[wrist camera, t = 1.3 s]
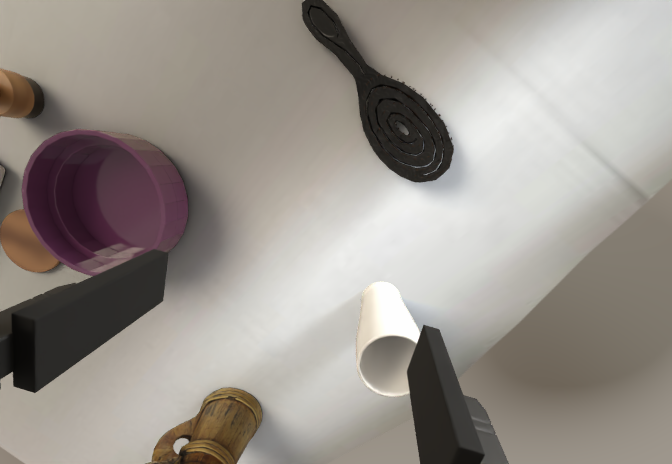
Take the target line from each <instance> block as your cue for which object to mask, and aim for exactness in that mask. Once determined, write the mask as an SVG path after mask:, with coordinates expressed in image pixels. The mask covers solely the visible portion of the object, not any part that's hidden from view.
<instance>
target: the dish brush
mask: <svg viewBox="0 0 672 464" xmlns="http://www.w3.org/2000/svg"><path fill="white" fill-rule="evenodd" d="M43 107H44V95H43V92H42V90H41V88H40V87H39V86H38V84H37V83H36V82H35V81H33V80H32V79H30V78H28V77H24V76H21V75H19V74H18V73H15V72H12V71H8V70H4V69H0V116H3V117H11V118H22V117H23V118H33V117H36V116H38V115H39V114H40V113H41V112H42V110H43Z"/></svg>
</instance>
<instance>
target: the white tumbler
mask: <svg viewBox="0 0 672 464" xmlns="http://www.w3.org/2000/svg"><path fill="white" fill-rule="evenodd" d="M420 334H421V333H420V331H419V329H418V327H417V325H416V323H415V321H414V320H413V318H412V316H411V314H410V313H409V311H408V309H407V307H406V306H405V304H404V302H403V300H402V298H401V295H400V293H399V291H398V290H397V288H396V287H394V286H393V285H392V284H390V283H387V282H375V283H373V284H371V285H369V286H368V287H367V288H366V289H365V290H364V292H363V294H362V297H361V310H360V317H359V323H358V329H357V336H356V362H357V371H358V374H359V377H360V379H361V381H362V382H363V383H364V385H365V386H366V387H367V388H369V389H370V390H371V391H373V392H375V393H377V394H379V395H382V396H386V397H401V396H405V395H408V394H410V391H409V385H408V378H407V369H408V366H409V364H410V361H411V358H412V355H413V353H414V350H415V347H416V345H417V342H418V339H419V336H420Z"/></svg>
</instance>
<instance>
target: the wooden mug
mask: <svg viewBox="0 0 672 464" xmlns="http://www.w3.org/2000/svg"><path fill="white" fill-rule="evenodd" d="M261 421H262V411H261V407H260V405H259V403H258V402H257V400H256V399H255V398H254V397H253V396H252V395H250V394H248V393H247V392H245V391H242V390H239V389H235V388H221V389H219V390H217V391H215V392H213V393H212V394H210V395H209V396H208V397H207V398H206V399H205V400H204V401H203V404H202V406H201V409H200V412H199V413H198V414H197V415H196V417H194V418H192V419H190V420H189V421H186V422H184V423H182V424H180V425H178V426H176V427H175V428H173V429H171V430H169V431H168V432H167V433H166V434H164V435H163V436H162V437H161V438H160V440H159V441H158V443H157V445H156V446H155V448H154V452H153V456H152V462H149V463H146V464H237V462H238V460H239V458H240V456H241V455H242V453H243V451H244V449H245V448H246V446H247V444H248V442H249V441H250V439H251V438H252V437H253V436H254V434H255V433H256V431H257V429H258V428H259V426H260V423H261ZM179 438H186V439H188V440H189V441H190V442H189V443H188V444H186V445H185V446H183V447H182V448H181V450H180V452H179V455H178V454H176V453H175V451H174V450H173V444H174V443H175V441H176V440H177V439H179Z"/></svg>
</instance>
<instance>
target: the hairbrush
mask: <svg viewBox="0 0 672 464" xmlns="http://www.w3.org/2000/svg"><path fill="white" fill-rule="evenodd" d="M302 12H303V15H302V16H303V20H304V23H305V25H306V26H307V28H308V29H309V31H310V32H311V33H312V35H313V36H314V37H315V38H316V39H317V40H318V41H319V42H320V43H322V44H323V45H324V46H325V47H326V48H328V49H329V50H330V51H331V52H333V53H334V54H335V55H336V56H337V57H338V58H339V60H340V61H341V62H342V63H343V64H344V65H345V67H346V68H347V69H348V70H349V71H350V73H351V74H352V75H353V77H354V78H355V81H356V85H357V91H358V97H359V108H360V117H361V121H362V126H363V130H364V132H365V135H366V137H367V139H368V141H369V143H370V145H371V146H372V148H373V150H374V152H375V153H376V155H377V156H378V157H379V158H380V159H381V160H382V161H383V162H384V163H385V164H386V165H387V167H388V168H389V169H391V170H392V171H394V172H395V173H397V174H398V175H400V176H402V177H404V178H406V179H408V180H411V181H413V182H426V181H433V180H436V179H438V178H439V177H440V176H441V175H443V174H444V173H445V172H446V171H447V170H448V169H449V167H450V163H451V161H452V155H453V150H454V148H453V146H454V145H453V146H452V143H451V140H452V139H451V138H452V137H451V138H450V137H449V135H448V134H449V132H447V129H446V127H447V126H445V124H444V122H443V120H441V119H440V117H439V116H441V115H440V114H439V115H437V114H436V112H435V111H434V110H436V108H435V109H434V110H433V109H432V108H431V107H432V106H433V105H432V106H430V105H431V104H430V105H429V104H428V103H427V101H426V99H424V98H423V97H422V96H421V95H422V94H421V95H419V94H418V93H416V92H415V91H416V90H415V91H413V90H414V88H413V90H412V89H411V88H409V87H410V86H409V87H408V86H406V85H405V84H404V83H405V82H404V83H401V82H399V81H396V80H393V79H391V78H392V76H391V78H388V77H386V76H385V75H384V76H383V75H381V74H380V73H378V72H377V71H375V70H374V69H373V68H371V67H370V66H368V65H367V64H366V63H365V61H364V60H363V58H362V57H361V55H360V54H359V52H358V51H357V49H356V48H355V46H354V45H353V43H352V42H351V40H350V39H349V37H348V35H347V33H346V31H345V29H344V27H343V25H342V23H341V21H340V19H339V17H338V15H337V14H336V13H335V12H334V11H333V10H332V9H331V8H330V7H329V6H328V5H327V4H326V3H325V2H324V1H323V0H305V1H304V2H303V3H302ZM309 15H310V17H311V20H312V23H313V24H314V26H315V27H316V29H317V30H316V29H315V28H314V27H313V26H312V24H311V20H310V17H309ZM332 21H333V22H334V23H335V25H336V27H337V30H338V32H339V35H338V33H337V30H336V27H335V25H334V23H333V22H332ZM324 37H325V38H324ZM327 39H328V40H327ZM330 41H331V42H330ZM333 43H334V44H333ZM336 45H337V46H336ZM339 47H340V48H339ZM342 49H343V50H342ZM345 51H346V52H347V53H348V54H349V55H350V56H351V57H352V58H353V59H354V60H355V61H356V62H357V63H358V64H359V65H360V67H361V69H362V70H363V72H364V74H363V72H362V71H361V69H360V67H359V66H358V64H357V63H356V62H355V61H354V60H353V59H352V58H351V57H350V56H349V55H348V54H347V53H346V52H345ZM397 80H399V79H397ZM382 86H387V87H382ZM374 88H376V89H375V90H374V91H373V92H371V91H372V89H374ZM392 88H393V89H392ZM395 89H396V90H395ZM397 90H398V91H397ZM399 91H401V92H402V93H401V92H399ZM403 93H404V94H403ZM369 95H370V96H369ZM407 96H408V97H407ZM368 97H369V101H368V115H369V120H370V123H371V126H372V128H373V130H374V132H375V135H376V136H377V139H378V140H379V142H380V143H381V144H382V146H383V147H384V148H385V149H386V150H387V152H388V153H389V154H390V155H392V156H393V157H394V158H396V159H397V160H399V161H401V162H403V163H405V164H408V165H412V166H421V168H414V167H411V166H408V165H405V164H403V163H400V162H398V161H396V160H395V159H393V158H392V157H391V156H390V155H389V154H388V153H387V152H386V151H385V150H384V149H383V148H382V146H381V145H380V144H379V142H378V141H377V139H376V137H375V136H374V134H373V132H372V130H371V127H370V124H369V121H368V118H367V112H366V102H367V99H368ZM386 99H390V100H386ZM411 99H412V100H413V101H412V100H411ZM382 100H383V101H382ZM391 100H393V101H391ZM381 101H382V102H381ZM379 102H381V103H379ZM415 102H416V103H417V104H416V103H415ZM378 103H379V105H378V106H377V104H378ZM402 104H403V105H405V106H406V107H408V108H409V110H410V111H411V112H410V111H409V110H408V109H407V108H406V107H405V106H403V105H402ZM418 104H419V105H420V106H419V105H418ZM376 107H377V119H378V123H379V125H380V127H381V128H382V130H383V131H384V133H385V134H386V136H387V137H388V138H389V140H390V141H391V142H392V143H393V144H394V145H395V146H397V147H398V148H399V149H400V150H401V151H403V152H406V153H408V154H406V153H402V152H401V151H400V150H398V149H397V148H396V147H395V146H394V145H393V144H391V143H390V142H389V141H388V140H387V138H386V137H385V135H384V133H383V132H382V130H381V129H380V127H379V125H378V123H377V120H376V114H375V113H376ZM421 108H422V109H423V110H422V109H421ZM424 111H425V112H424ZM425 113H426V114H427V115H426V114H425ZM391 114H392V115H391ZM389 115H391V116H390V117H389ZM401 115H403V116H404V117H406V118H407V119H405V118H404V117H402V116H401ZM428 116H429V117H430V118H429V117H428ZM388 117H389V119H388ZM387 119H388V124H389V126H390V128H391V130H392V131H393V133H392V131H390V129H389V127H388V124H387ZM418 119H419V120H420V121H421V122H422V123H423V124H424V125H425V126H426V128H427V129H428V130H429V131H430V133H431V135H430V133H429V131H428V130H427V129H426V128H425V126H423V124H422V123H421V122H420V121H419V120H418ZM430 119H431V120H432V121H431V120H430ZM408 120H409V121H410V122H409V121H408ZM396 121H398V122H400V123H402V124H403V125H405V126H406V128H407V130H408V132H409V134H408V135H405V134H404V133H402V132H400V131H399V130H398V129H399V128H398V129H397V128H396V126H395V122H396ZM432 122H433V123H434V124H433V123H432ZM411 123H412V124H413V125H414V126H415V127H414V126H413V125H412V124H411ZM396 125H397V124H396ZM434 125H435V126H434ZM435 127H436V128H437V129H436V128H435ZM416 128H417V130H418V131H419V133H420V134H421V136H422V138H423V140H422V138H421V136H420V135H419V133H418V131H417V130H416ZM437 130H438V131H439V132H438V131H437ZM439 133H440V135H441V138H440V135H439ZM394 134H395V135H396V136H397V137H398V138H399V139H400V140H399V139H398V138H397V137H396V136H395V135H394ZM431 136H432V137H431ZM432 139H433V141H432ZM441 139H442V142H441ZM450 139H451V140H450ZM401 140H402V142H401ZM414 140H415V142H414V143H413V144H406V143H412V142H413V141H414ZM403 141H404V142H406V143H403ZM423 141H424V150H423ZM433 142H434V145H433ZM442 144H443V145H442ZM434 146H435V148H434ZM443 148H444V150H443ZM435 149H436V152H435V157H434V161H433V156H434V151H435ZM422 150H423V152H422ZM421 152H422V153H421ZM442 152H443V158H442ZM419 153H421V154H419ZM409 154H415V155H416V154H419V155H417V156H413V155H409ZM441 158H442V163H441V164H440V162H441ZM431 161H433V162H432V163H431V164H430V165H429V166H427V167H422V166H425V165H428V164H429V163H430V162H431ZM439 164H440V166H439V168H438V169H437V167H438V165H439ZM436 169H437V171H435V172H432V171H434V170H436ZM430 172H432V173H430ZM427 173H430V174H428V175H424V174H427Z"/></svg>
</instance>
